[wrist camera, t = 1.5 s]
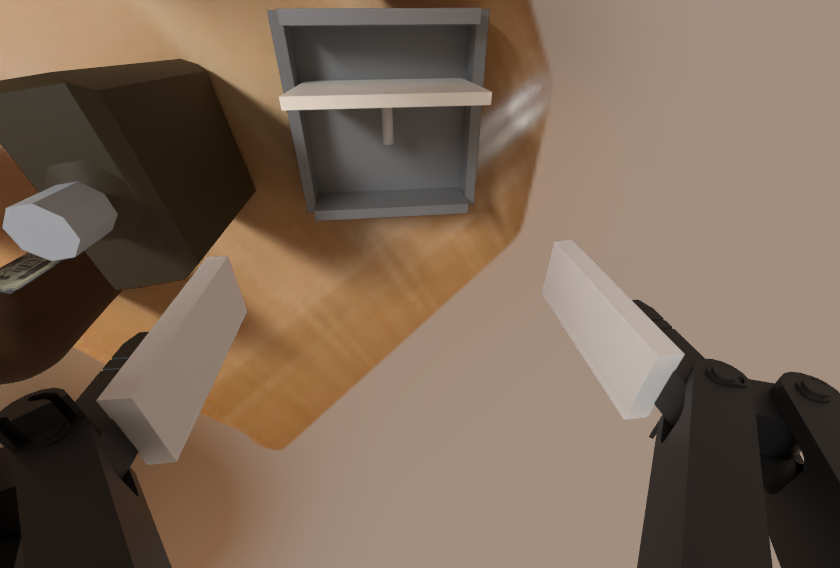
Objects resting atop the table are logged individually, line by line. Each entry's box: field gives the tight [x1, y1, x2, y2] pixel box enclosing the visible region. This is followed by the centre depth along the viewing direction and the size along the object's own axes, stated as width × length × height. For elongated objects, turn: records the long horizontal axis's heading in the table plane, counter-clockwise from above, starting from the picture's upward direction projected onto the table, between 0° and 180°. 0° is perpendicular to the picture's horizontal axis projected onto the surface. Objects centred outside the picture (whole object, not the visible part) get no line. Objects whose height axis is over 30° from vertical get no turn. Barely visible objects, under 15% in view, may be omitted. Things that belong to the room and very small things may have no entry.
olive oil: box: [0, 251, 123, 385], centre depth 39 cm, size 11×11×25 cm
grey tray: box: [267, 8, 490, 221], centre depth 40 cm, size 20×21×7 cm
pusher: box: [279, 78, 492, 145], centre depth 36 cm, size 6×17×13 cm, turn 91°
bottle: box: [0, 59, 256, 290], centre depth 32 cm, size 8×16×25 cm, turn 8°
